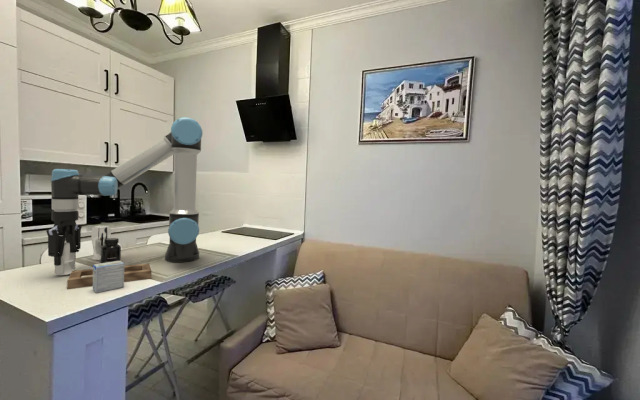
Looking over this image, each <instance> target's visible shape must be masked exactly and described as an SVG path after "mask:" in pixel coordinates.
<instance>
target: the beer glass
mask: <svg viewBox="0 0 640 400" xmlns="http://www.w3.org/2000/svg"><path fill="white" fill-rule="evenodd" d="M111 231H112V230H111V225H108V224H107V225H93V226H92V229H91V236H90V237H91V243H92V250H93V255H92V261H95V260H99V261H100V260H101V247H102V246H103V245H105V244H104V239H107V238H112V237H111V235H112V232H111Z"/></svg>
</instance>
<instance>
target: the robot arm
mask: <svg viewBox="0 0 640 400" xmlns="http://www.w3.org/2000/svg"><path fill="white" fill-rule="evenodd" d="M202 137H203V129H202V127H201V125H200V123H199V122H198V121H197V120H196V119H193V118H191V117H187V116H186V117H185V116H184V117H179V118H177V119H176V120H174V122H173V123H172V125H171V127H170V132H169V133H168V134H166V135H164V137H163V140H160V141H159V142H158V143H156V144H154V145H152V146H151V147H149V148H148V149H145V150H144V151H143V152H141V153H139V154H138V155H136V156H134V157H133V158H130V159H129V160H127V161H125V162H123V163H122V164H120V165H119V166H117V167H116V168H113V169H112V170H111V171H109V172H107V173H105V174H103V175H83V174H82V175H81V174H80V173H79V170H77V169H67V168H66V169H65V168H54V169H53V170H52V171H51V180H50V183H51V184H50V185H51V192H50V193H51V210H52V211H51V218H50V219H51V221H52V222H53V227H52V228H51V229H46V234H47V250H48V255H47V256H48V257H52V258H53V265H54V275H56V274H64V256H62V254H63V249H64V243H69V244H70V259H73V261H72V262H70V263H68V264H69V266H70V267H71V268H72V270H73V271H75V269H76V257H77V255H76V254H77V253H79V252H80V250H81V245H82V244H81V243H82V241H81V237H82V236H81V233H82V227H83V225H82V224H77V222H76V221H79V211H78V210H79V207H80V205H79V204H80V203H79V200H80V199H79V197H80V195H81V196H104V197H106V196H107V197H108V196H116V194H117V192H118V190H119V189H120V188H121V187H123V186H125V185H126V184H128V183H130V182H132V181H134V180H135V179H136V178H138V177H139V176H140V175H142V174H143V175H144V174H145V172H148V171H149V170H150V169H153V168H154V167H156V166H157V165H159V164H160V163H162V162H164V161H166V160H167V159H168V158H170V157H172V156H174V183H173V184H174V185H173V186H174V187H173V208H172V209H171V211H169V213H168V214H169V219H168V222H169V223H168V229H167V235H168V236H169V243H168V246H167V248H166V251H165V254H164V260H165V261H167V262H170V263H186V262H192V261H193V262H194V261H195V260H196V261H197V260H199V259H200V251H199V247H198V244H197V237H198V236H199V233H200V226H199V222H200V221H199V217H200V216H199V214H200V213H199V211H198V209H196V199H197V198H196V197H197V195H196V193H197V166H198V164H197V162H198V155H199V154H200V153H201V152H202V151H201V150H202Z"/></svg>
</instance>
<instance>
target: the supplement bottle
mask: <svg viewBox="0 0 640 400" xmlns="http://www.w3.org/2000/svg"><path fill="white" fill-rule="evenodd" d="M119 240H120V239H119V238H118V237H111V238H107V239H104V244H105V245H103V246H102V247H101V260H99V262H100V263H107V262H114V261H121V260H122V259H121V258H122V257H121V256H122V246H121V245H120V244H119V242H120V241H119ZM121 262H122V261H121ZM100 263H99V264H100Z"/></svg>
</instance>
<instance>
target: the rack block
mask: <svg viewBox="0 0 640 400" xmlns="http://www.w3.org/2000/svg"><path fill="white" fill-rule="evenodd" d="M151 268H152V267H151V264H150V263H139V264H131V265H130V264H129V265H124V283H126V282H133V281H134V282H135V281H141V280H143V281H144V280H150V279H152V269H151ZM66 284H67V285H66V286H67V287H66V288H67V289H66V290H69V289H70V290H71V289H79V288H85V287H93V268H91V269H90V268H89V269H79V270H73V271H72V272H71V274H69V277H68V279H67V280H66Z"/></svg>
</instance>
